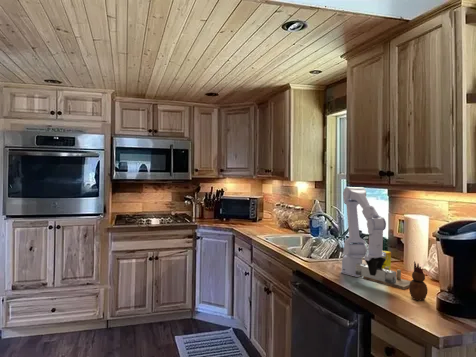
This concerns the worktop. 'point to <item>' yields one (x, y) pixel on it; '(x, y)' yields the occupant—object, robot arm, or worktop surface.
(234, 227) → the worktop surface
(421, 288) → the wooden figurine
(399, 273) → the rack
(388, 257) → the supplement box
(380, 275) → the grey long bar
